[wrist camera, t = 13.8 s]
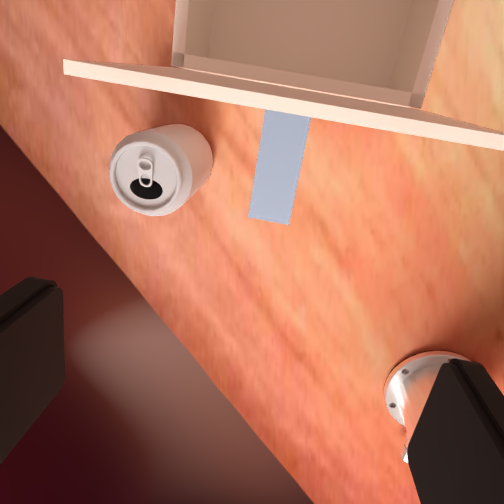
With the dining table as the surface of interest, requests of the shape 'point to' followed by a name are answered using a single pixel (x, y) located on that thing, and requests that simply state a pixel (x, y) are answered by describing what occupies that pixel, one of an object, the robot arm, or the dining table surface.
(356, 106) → the flap
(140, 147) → the can
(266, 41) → the mailer box
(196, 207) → the dining table surface
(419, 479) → the robot arm
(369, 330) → the dining table surface
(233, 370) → the dining table surface
